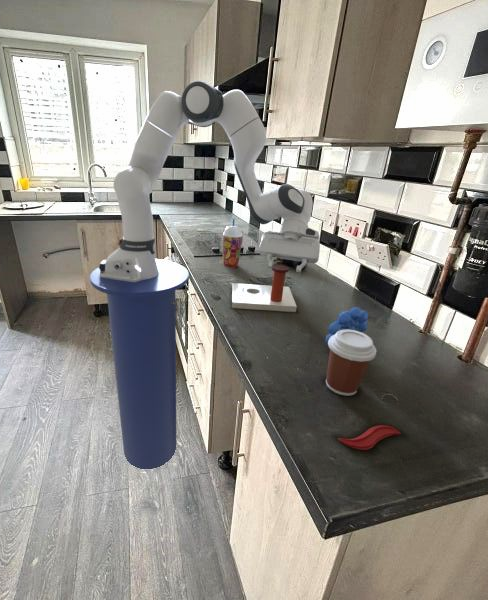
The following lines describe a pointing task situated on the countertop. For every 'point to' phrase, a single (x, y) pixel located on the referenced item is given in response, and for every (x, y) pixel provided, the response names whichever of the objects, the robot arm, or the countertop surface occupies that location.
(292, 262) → the pipe connector
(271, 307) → the sink floor
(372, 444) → the cayenne pepper
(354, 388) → the coffee cup
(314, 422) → the countertop surface
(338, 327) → the grapes
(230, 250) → the smoothie
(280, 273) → the stopper
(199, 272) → the countertop surface
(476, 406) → the countertop surface
